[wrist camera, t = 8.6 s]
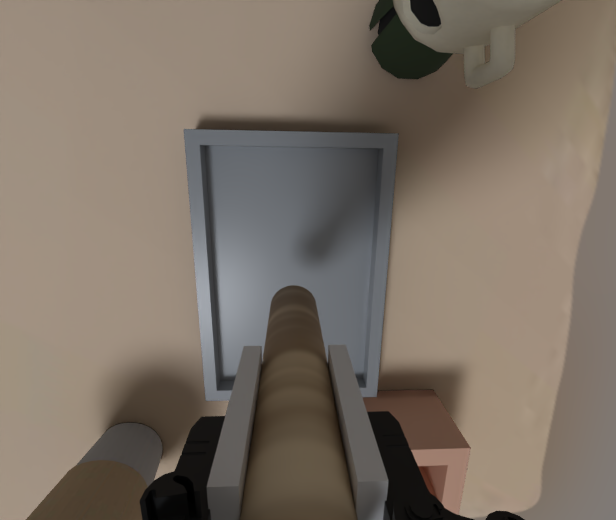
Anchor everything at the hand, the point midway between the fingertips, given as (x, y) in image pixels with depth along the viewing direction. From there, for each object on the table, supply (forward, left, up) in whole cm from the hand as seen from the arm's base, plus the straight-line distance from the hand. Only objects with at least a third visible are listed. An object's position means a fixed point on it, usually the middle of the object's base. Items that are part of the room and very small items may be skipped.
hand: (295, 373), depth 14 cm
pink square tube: (+16, +10, -14) cm, 24 cm away
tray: (0, 0, -14) cm, 14 cm away
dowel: (0, 0, -7) cm, 7 cm away
